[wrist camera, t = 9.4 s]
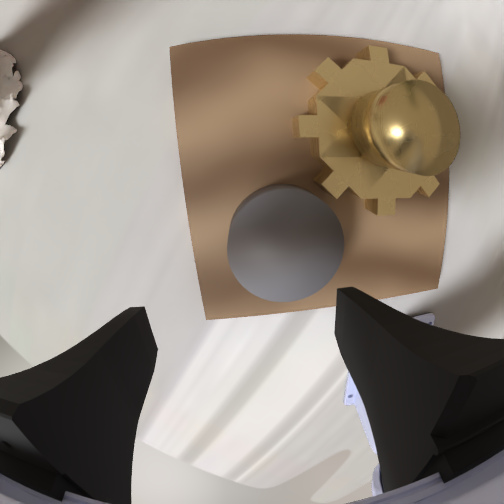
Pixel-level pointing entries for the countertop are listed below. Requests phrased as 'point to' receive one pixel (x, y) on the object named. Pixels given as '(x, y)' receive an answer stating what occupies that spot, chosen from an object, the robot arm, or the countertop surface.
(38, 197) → the countertop surface
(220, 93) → the carrier plate
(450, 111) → the brass gear
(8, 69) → the white paper bag
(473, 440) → the robot arm
